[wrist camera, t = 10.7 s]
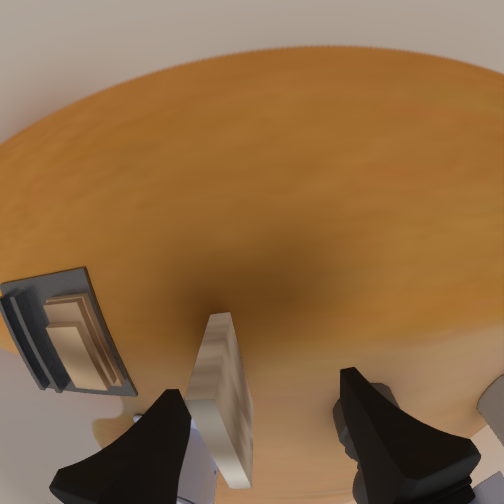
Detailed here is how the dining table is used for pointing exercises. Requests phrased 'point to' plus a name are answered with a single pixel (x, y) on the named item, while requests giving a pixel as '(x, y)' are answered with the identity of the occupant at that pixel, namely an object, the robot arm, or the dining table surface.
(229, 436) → the beige flat block
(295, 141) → the dining table surface
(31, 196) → the dining table surface
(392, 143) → the dining table surface
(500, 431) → the bottle
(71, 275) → the rack
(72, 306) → the offcut stack
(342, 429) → the candle holder
